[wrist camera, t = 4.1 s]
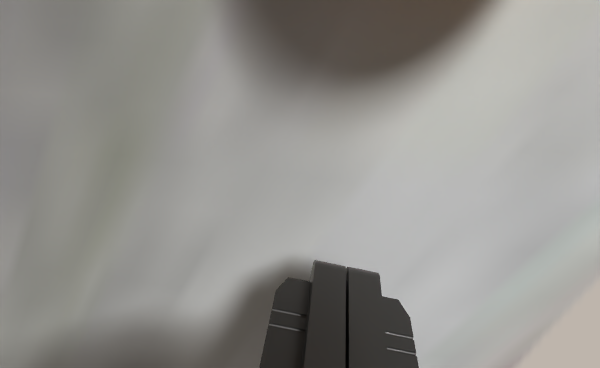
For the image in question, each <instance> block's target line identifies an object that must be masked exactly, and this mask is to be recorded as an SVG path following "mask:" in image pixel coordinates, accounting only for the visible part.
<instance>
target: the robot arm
mask: <svg viewBox="0 0 600 368" xmlns="http://www.w3.org/2000/svg"><path fill="white" fill-rule="evenodd" d="M260 368H419V367H418V361H417V356H416V349H415V344H414V340H413V332H412V327H411V321H410V317H409V315H408V314H407V312H406V311H405V309H404V308H403V306H402V305H401V303H400V302H399V300H397V299H392V298H387V297H382V294H381V284H380V276H379V273H376V272H371V271H366V270H361V269H356V268H351V267H347V268H346V267H345V266H341V265H336V264H331V263H326V262H321V261H316V260H315V261H314V263H313V267H312V271H311V276H310V280H309V282H308V281H303V280H298V279H293V278H289V277H288V278H287V279H286V281H285V282H284V283H283V284H282V285H281V286H280V287H279V288H278V289H277V290H276V293H275V298H274V303H273V307H272V312H271V317H270V321H269V326H268V331H267V335H266V340H265V344H264V349H263V354H262V358H261V363H260Z"/></svg>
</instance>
